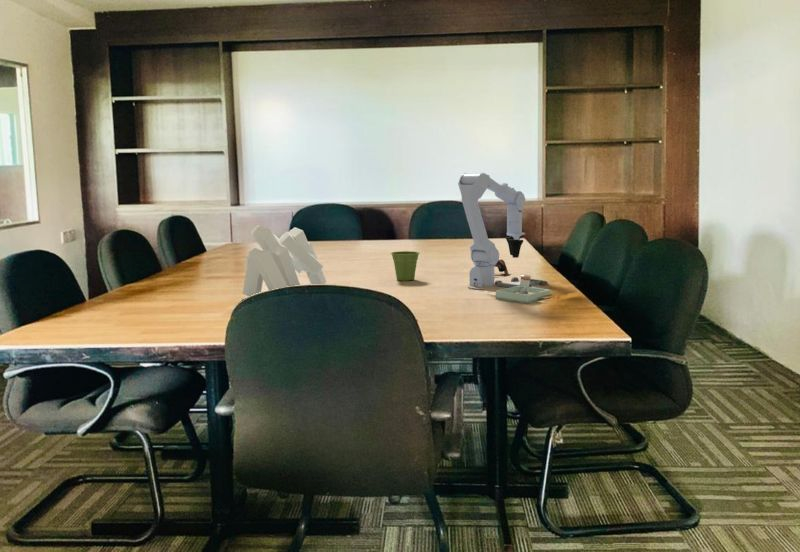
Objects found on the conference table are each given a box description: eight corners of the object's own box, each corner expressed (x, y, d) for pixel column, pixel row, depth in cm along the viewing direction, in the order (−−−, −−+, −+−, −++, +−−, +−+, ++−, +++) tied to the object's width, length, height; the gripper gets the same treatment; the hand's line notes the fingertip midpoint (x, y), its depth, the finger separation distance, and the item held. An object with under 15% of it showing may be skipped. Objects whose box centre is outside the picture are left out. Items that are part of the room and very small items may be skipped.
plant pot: (424, 280, 303) (424, 253, 301) (397, 282, 298) (397, 255, 297) (413, 276, 314) (413, 250, 312) (387, 278, 309) (386, 252, 308)
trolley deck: (524, 293, 269) (524, 285, 268) (491, 289, 280) (491, 281, 279) (548, 288, 279) (548, 280, 279) (516, 284, 290) (516, 276, 289)
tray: (527, 303, 250) (527, 295, 250) (495, 299, 260) (495, 290, 259) (550, 298, 259) (551, 289, 259) (519, 293, 269) (519, 285, 269)
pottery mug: (506, 278, 308) (496, 261, 307) (488, 286, 314) (478, 270, 312) (515, 267, 318) (505, 251, 317) (497, 275, 323) (487, 259, 322)
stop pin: (525, 296, 259) (528, 276, 257) (516, 294, 260) (519, 275, 259) (529, 295, 261) (532, 276, 260) (520, 293, 263) (523, 274, 262)
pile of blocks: (280, 299, 297) (235, 224, 285) (345, 271, 288) (301, 193, 277) (255, 342, 265) (203, 260, 254) (328, 313, 257) (277, 227, 245)
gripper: (527, 223, 284) (527, 258, 286) (522, 220, 298) (521, 253, 300) (508, 223, 284) (508, 258, 286) (504, 220, 298) (504, 254, 300)
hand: (514, 256), depth 293 cm, fingers open, 7 cm apart
